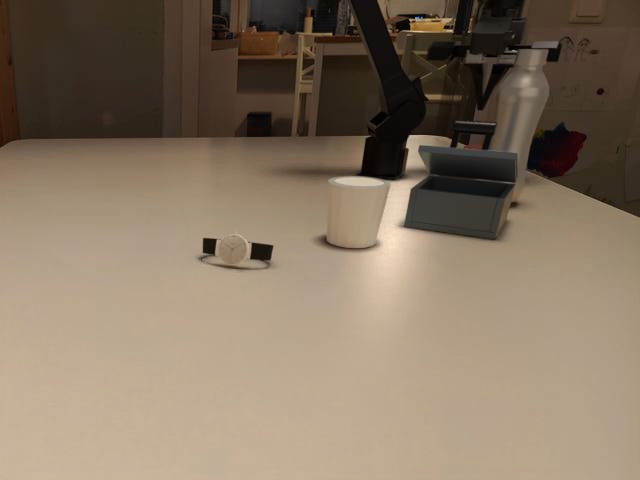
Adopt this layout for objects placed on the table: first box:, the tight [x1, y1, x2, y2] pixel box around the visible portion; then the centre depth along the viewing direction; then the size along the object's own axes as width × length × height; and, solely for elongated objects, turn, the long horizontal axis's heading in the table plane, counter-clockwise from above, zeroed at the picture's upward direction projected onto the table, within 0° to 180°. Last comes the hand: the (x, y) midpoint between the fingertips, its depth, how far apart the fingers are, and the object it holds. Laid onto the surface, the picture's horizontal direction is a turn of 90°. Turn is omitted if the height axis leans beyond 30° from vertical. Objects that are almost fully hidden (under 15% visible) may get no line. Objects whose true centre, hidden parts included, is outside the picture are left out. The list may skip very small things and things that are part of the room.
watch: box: [202, 230, 274, 266], centre depth 66 cm, size 8×5×4 cm, turn 68°
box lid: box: [417, 119, 518, 183], centre depth 76 cm, size 11×11×4 cm
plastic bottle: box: [476, 49, 550, 203], centre depth 85 cm, size 6×7×20 cm
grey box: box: [403, 174, 516, 240], centre depth 79 cm, size 10×11×5 cm
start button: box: [463, 144, 483, 150], centre depth 105 cm, size 4×4×2 cm
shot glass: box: [326, 175, 391, 249], centre depth 71 cm, size 7×7×7 cm
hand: (480, 110), depth 101 cm, fingers closed
